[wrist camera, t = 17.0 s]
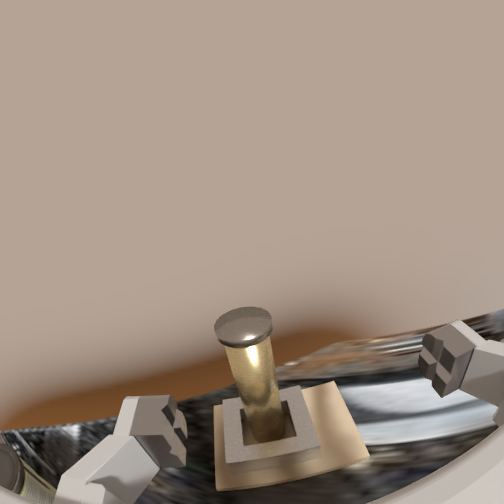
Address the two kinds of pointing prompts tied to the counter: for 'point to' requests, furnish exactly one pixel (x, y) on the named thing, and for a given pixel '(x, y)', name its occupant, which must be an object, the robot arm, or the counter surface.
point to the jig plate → (326, 426)
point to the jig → (273, 452)
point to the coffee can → (23, 478)
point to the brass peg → (253, 369)
